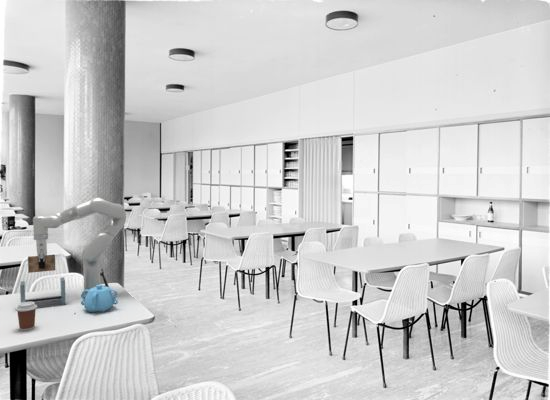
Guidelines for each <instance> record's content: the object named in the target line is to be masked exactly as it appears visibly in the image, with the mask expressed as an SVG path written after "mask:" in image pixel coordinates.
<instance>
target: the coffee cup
mask: <svg viewBox="0 0 550 400" xmlns="http://www.w3.org/2000/svg"><path fill="white" fill-rule="evenodd" d="M36 308H37V305H35V303H34V302H23V303H21V302H20V303H18V304H17V306H16V307H15V312H17V318H18V327H19V331H29V330H33V329H35V326H36V325H35V324H36V310H37V309H38V308H37V309H36Z"/></svg>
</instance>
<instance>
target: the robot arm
mask: <svg viewBox="0 0 550 400" xmlns="http://www.w3.org/2000/svg"><path fill="white" fill-rule="evenodd" d="M96 213H98V214H100V215H103V216H106V217H109V218H110V220H109V221H108V222H107V224H106V225H105V226H104V227H103V228H102V229H101V230H100V231H99V232H97V234H96V235H95V237H94V238H93V239H92V240H91V242H90V243H88V244H86V245H85V246H84V248H83V250H82V252H81V257H82V259H83V260H82V264H83V268H82V269H83V291H84V290H90V289H91V288H93V287H96V285H102V284H101V282H102V281H101V276H100V273H101V257H102V254H104V253H105V251H107V250H108V249H109V247H110V246H111V245H112V243H113V240H114V239H115V237H116V236H117V235H118V234H119V232H120V231H121V230H122V228H124V226H125V224H126V220H127V213H126V209H125V207H124V206H123V205H122V204H120V203H114V202H112V201H108V200H105V199H104V198H102V197H98V196H97V197H94V198H92V199H89V200H87V201H84V202H82V203H79V204H76V205H74V206H72V207H70V208H68V209H67V208H66V209H64V210H62V211H60V212H56V213H55V214H52V215H49V216H46V215H35V216H34V217H33V218H32V222H33V223H32V226H33V229H32V230H33V240H34V241H35V242H36V243H35V247H36V254H37V255H36V256H38V257H39V269H43V268H45V261H44V256H47V255H48V248H47V247H48V246H47V245H48V244H47V240H49V229H58V228H59V227H60V226H62V225H64V224H65V225H66V224H67V223H70V222H72V221H75V220H76V221H77V220H82V219H84V218H86V217H89V216H92V215H94V214H96ZM43 255H44V256H43ZM87 293H88V292H84V297H85V298H86V295H87ZM80 295H81V296H80V297H82V293H81V294H80Z"/></svg>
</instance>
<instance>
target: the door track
mask: <svg viewBox="0 0 550 400" xmlns="http://www.w3.org/2000/svg"><path fill="white" fill-rule="evenodd" d="M59 280H60V281H59V282H60V295H55V296H46V297H38V298H29V299H26V282H25V280H23V281H20V284H19V287H20V291H19V292H20V303H23V302H34V303H35V305H37V308H36V310H37V309H43V308H51V307H52V306H53V307H59V306H66V305H67V303H66V279H65V277H60V279H59Z"/></svg>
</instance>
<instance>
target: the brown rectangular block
mask: <svg viewBox="0 0 550 400" xmlns="http://www.w3.org/2000/svg"><path fill="white" fill-rule="evenodd" d="M43 256H44V255H43ZM44 261H45V268H43V269H39V257H38V255H32V256H31V255H30V256H27V268H28V270H27V271H28V272H27V273H28V274H31V273H41V272H42V273H43V272H52V271H53V272H54V271H56V254H47V256H44Z"/></svg>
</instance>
